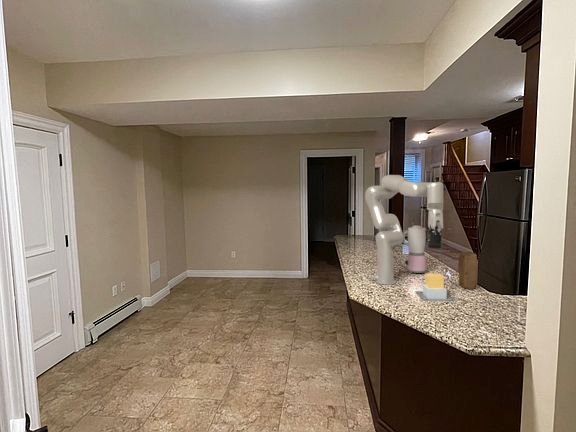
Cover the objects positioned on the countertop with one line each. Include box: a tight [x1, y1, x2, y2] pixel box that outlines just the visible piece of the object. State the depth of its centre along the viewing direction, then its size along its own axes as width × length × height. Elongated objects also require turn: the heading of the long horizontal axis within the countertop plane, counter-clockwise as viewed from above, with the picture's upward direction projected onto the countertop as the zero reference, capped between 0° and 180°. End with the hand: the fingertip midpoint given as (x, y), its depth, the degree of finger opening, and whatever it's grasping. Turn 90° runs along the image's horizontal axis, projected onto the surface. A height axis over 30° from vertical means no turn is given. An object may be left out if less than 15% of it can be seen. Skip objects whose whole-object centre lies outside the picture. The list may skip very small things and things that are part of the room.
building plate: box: [414, 290, 457, 302], centre depth 170 cm, size 16×16×2 cm
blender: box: [401, 225, 427, 275], centre depth 225 cm, size 16×12×32 cm
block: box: [457, 251, 478, 290], centre depth 188 cm, size 11×8×20 cm
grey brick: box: [422, 283, 448, 299], centre depth 170 cm, size 9×9×5 cm
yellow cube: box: [424, 272, 445, 289], centre depth 169 cm, size 7×7×6 cm
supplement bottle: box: [426, 225, 443, 250], centre depth 168 cm, size 7×7×12 cm
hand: (434, 241), depth 168 cm, fingers closed on supplement bottle, 6 cm apart
